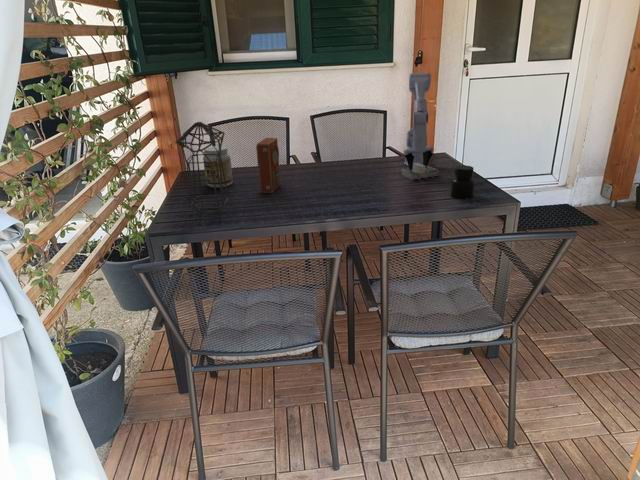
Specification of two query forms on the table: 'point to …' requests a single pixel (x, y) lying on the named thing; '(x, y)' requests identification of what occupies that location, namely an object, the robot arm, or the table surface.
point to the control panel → (268, 164)
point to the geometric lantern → (205, 127)
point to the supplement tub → (226, 166)
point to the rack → (415, 175)
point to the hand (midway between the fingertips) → (417, 168)
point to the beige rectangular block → (419, 168)
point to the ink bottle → (463, 182)
